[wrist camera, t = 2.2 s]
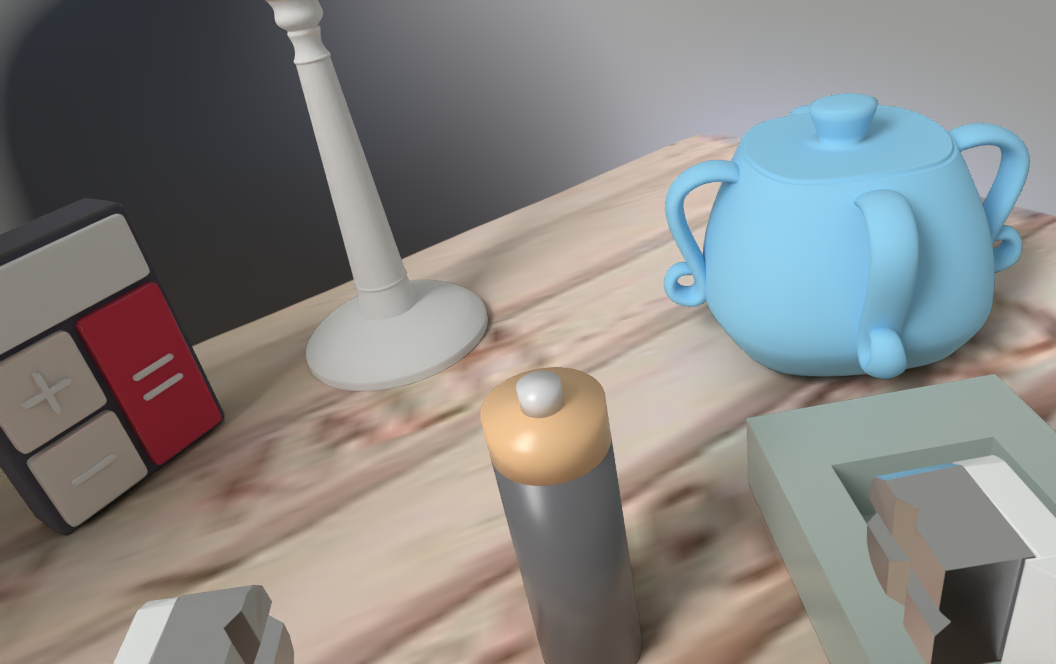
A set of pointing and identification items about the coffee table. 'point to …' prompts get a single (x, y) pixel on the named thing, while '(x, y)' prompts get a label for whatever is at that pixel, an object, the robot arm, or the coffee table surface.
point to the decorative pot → (849, 238)
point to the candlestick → (371, 251)
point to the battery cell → (565, 513)
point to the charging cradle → (844, 486)
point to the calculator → (90, 364)
